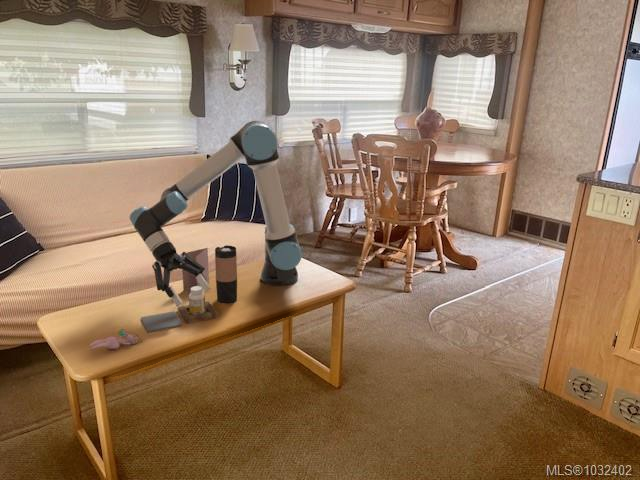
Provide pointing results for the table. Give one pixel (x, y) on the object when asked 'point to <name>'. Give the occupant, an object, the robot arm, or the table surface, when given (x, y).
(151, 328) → the slate pad
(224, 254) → the travel mug
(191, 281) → the greeting card
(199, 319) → the brown flat square frame
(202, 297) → the supplement bottle
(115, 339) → the pink patterned figure
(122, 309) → the table surface
